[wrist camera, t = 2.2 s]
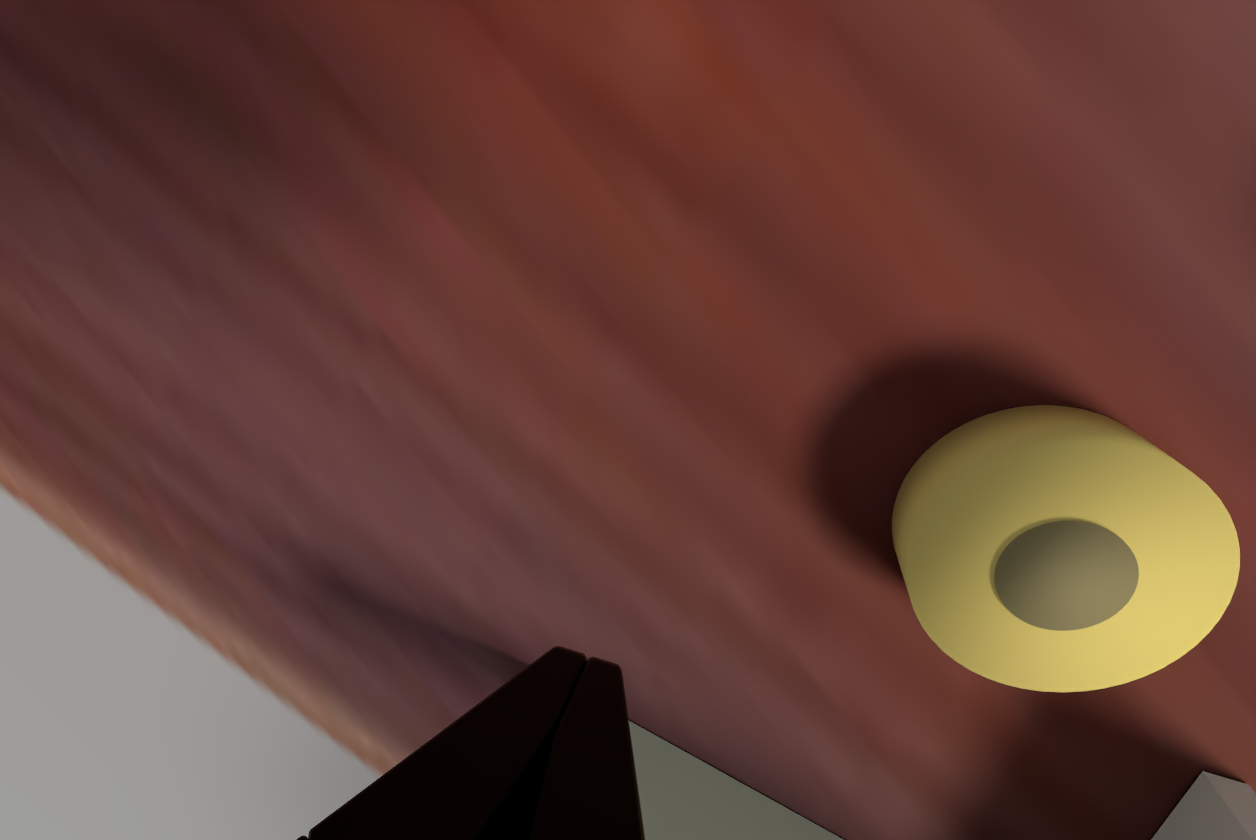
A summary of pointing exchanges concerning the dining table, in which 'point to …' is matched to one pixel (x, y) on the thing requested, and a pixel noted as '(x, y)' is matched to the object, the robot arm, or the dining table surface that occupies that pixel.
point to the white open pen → (1212, 812)
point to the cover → (706, 800)
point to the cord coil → (1061, 550)
